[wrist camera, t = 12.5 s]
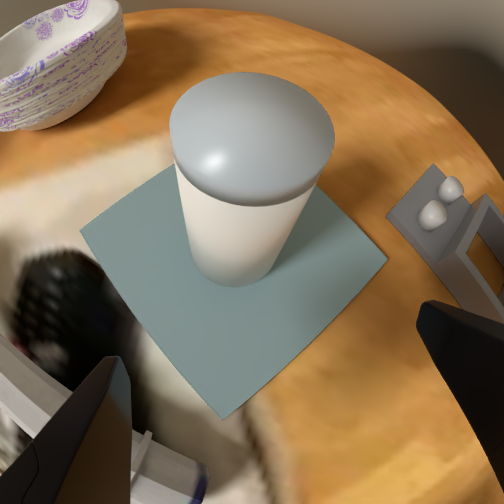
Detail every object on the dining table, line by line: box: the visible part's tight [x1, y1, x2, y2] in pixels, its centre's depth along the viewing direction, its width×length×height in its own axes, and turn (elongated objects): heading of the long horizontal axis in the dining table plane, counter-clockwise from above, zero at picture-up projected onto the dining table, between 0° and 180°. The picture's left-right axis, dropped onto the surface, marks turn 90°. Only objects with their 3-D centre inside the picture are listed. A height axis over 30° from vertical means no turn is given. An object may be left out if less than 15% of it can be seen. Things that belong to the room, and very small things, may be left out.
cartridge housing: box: [385, 163, 504, 324], centre depth 19 cm, size 13×8×3 cm, turn 42°
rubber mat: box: [79, 163, 388, 420], centre depth 18 cm, size 14×14×1 cm
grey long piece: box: [0, 333, 210, 504], centre depth 12 cm, size 5×7×25 cm
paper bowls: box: [0, 0, 127, 132], centre depth 18 cm, size 15×15×8 cm
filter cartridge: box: [169, 72, 335, 288], centre depth 13 cm, size 5×5×10 cm
